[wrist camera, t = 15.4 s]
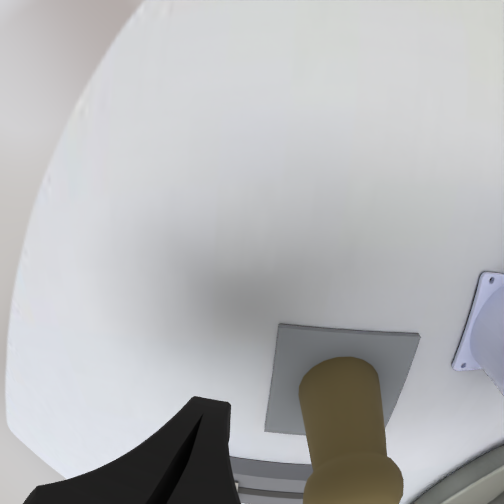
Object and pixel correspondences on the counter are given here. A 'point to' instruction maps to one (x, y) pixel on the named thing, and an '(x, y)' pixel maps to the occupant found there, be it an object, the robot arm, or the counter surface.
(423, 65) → the counter surface
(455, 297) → the counter surface
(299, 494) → the switch bar
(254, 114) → the counter surface
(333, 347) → the slate mat
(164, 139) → the counter surface
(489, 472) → the cake pan
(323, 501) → the cork
